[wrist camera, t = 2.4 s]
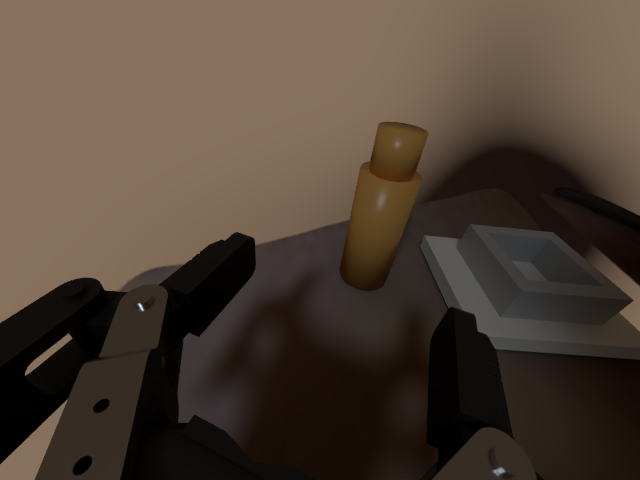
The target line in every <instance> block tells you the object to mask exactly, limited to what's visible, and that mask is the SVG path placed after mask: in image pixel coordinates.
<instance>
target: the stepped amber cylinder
mask: <svg viewBox="0 0 640 480" xmlns="http://www.w3.org/2000/svg"><path fill="white" fill-rule="evenodd" d="M427 136H428V132H427V131H426V130H424V129H422V128H420V127H417V126H413V125H409V124H405V123H398V122H382V123H380V124H379V125H378V129H377V134H376V138H375V143H374V147H373V152H372V156H371V161H370V162H366V163H364V164H362V165H361V167H360V172H359V177H358V182H357V187H356V191H355V196H354V202H353V206H352V211H351V216H350V220H349V225H348V230H347V235H346V240H345V245H344V250H343V255H342V259H341V264H340V275H341V277H342V278H343V280H344V281H345V282H346V283H347V284H349V285H350V286H352V287H354V288H357V289H360V290H366V291H370V290H376V289H378V288H380V287H382V286H383V285H384V283H385V281H386V278H387V275H388V273H389V270H390V267H391V264H392V262H393V259H394V256H395V253H396V251H397V248H398V245H399V242H400V240H401V237H402V234H403V231H404V229H405V226H406V223H407V220H408V218H409V215H410V212H411V209H412V207H413V204H414V201H415V198H416V196H417V193H418V190H419V187H420V184H421V182H422V177H421V175H420V174H419V173H417V172H416V169H417V166H418V163H419V160H420V157H421V154H422V151H423V148H424V145H425V142H426V139H427Z"/></svg>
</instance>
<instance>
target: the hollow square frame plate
mask: <svg viewBox="0 0 640 480" xmlns="http://www.w3.org/2000/svg"><path fill="white" fill-rule="evenodd" d="M420 248H421V250H422V252H423V254H424V256H425V259H426V261H427V263H428V265H429V267H430V269H431V272H432V274H433V276H434V278H435V280H436V282H437V285H438V287H439V289H440V291H441V293H442V295H443V298H444V300H445V302H446V304H447V306H448V308H450V307H455V308H457V309H460V310H463V311H466V312H469V313H472V314H474V315H475V317H476V322H477V329H478V332H481V333H484V334H487V336H488V337H489V339H490V341H491V342H492V344H493V346H494V348H495V349H502V350H516V351H529V352H543V353H556V354H569V355H583V356H596V357H610V358H623V359H637V360H640V332H639V331H638V330H637V329H636V328H635V327H634V326H633V325H632V324H631V323H630V322H629V321H627V320H626V319H625V318H624V317H623V316H622V315H621V314H620V313H619V312H620V311H621V310H622V309H624V308H625V307H626V306H627V305H628V304H630V303H631V302H632V301H633V299H631V298H630V297H629V296H628V295H627V294H626V293H624V292H623V291H622V290H621V289H620V288H618V287H617V286H616V285H615V284H614V283H612V282H611V281H610V280H609V279H607V277H605V276H604V275H603V274H602V273H601V272H599V271H598V270H597V269H596V268H595V267H593V266H592V265H591V264H590V263H589V262H588V261H586V260H585V259H584V258H583V257H582V256H580V255H579V254H578V253H577V252H576V251H574V250H573V249H572V248H571V247H570V246H569V245H567V244H566V243H565V242H563V241H562V240H561V239H560V238H559V237H558V236H557V235H555V234H554V233H553V232H543V231H533V230H523V229H513V228H503V227H493V226H483V225H472V224H469V226H468V228H467V230H466V232H465V234H464V235H463V237H462V239H455V238H445V237H434V236H424V238H423V240H422V243H421V245H420Z"/></svg>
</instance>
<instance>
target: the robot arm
mask: <svg viewBox="0 0 640 480" xmlns="http://www.w3.org/2000/svg"><path fill="white" fill-rule="evenodd" d="M255 266H256V260H255V240H254V238H252V237H250V236H247V235H244V234H241V233H238V232H236V233H234V234H233V235H231V236H230V237H229V238H228V239H227V240H225V241H224V240H220V241H218V242H215V243H213V244H210V245H208V246H207V247H206V248H205V249H203V250H202V251H201V252H200V254H197V255H196V256H195V257H193V258H192V260H190V261H188V262H187V263H186V264H185V265H183V266H182V267H181V268H180V269H178V270H177V271H176V272H174V273H173V274H172V275H171V276H169V277H168V278H167V279H166V280H164V281H163V282H162V283H161V284H159V285H153V284H151V285H144V286H140V287H137V288H135V289H133V290H131V291H129V292H117V291H105V290H104V289H103V287H102V285H101V283H100V282H99V281H98V280H96V279H93V278H80V279H75V280H71V281H69V282H66V283H64V284H62V285H60V286H58V287H57V288H55V289H54V290H52V291H50V292H49V293H47V294H46V295H44V296H43V297H41V298H39V299H38V300H36V301H35V302H33V303H31V304H30V305H28V306H27V307H25V308H24V309H22V310H20V311H19V312H17V313H16V314H14V315H13V316H11V317H9V318H8V319H6V320H5V321H3V322H1V323H0V464H1V463H2V462H3V461H4V460H5V459H6V458H7V457H8V456H9V455H10V454H11V453H12V452H13V451H14V450H15V449H16V448H17V447H18V446H20V445H21V444H22V443H23V442H24V441H25V440H26V439H27V438H28V437H29V436H30V435H31V434H32V433H33V432H34V431H35V430H36V429H37V428H38V427H39V426H40V425H41V424H42V423H43V422H44V421H45V420H46V419H47V418H48V417H49V416H50V415H51V414H52V413H54V412H55V411H56V410H57V409H58V408H59V407H60V406H61V405H62V404H63V403H64V402H65V401H66V400H67V399H68V401H67V404H66V405H65V408H64V410H63V413H62V415H61V417H60V420H59V423H58V425H57V427H56V430H55V432H54V435H53V437H52V439H51V442H50V444H49V447H48V449H47V451H46V454H45V456H44V459H43V461H42V463H41V466H40V468H39V471H38V473H37V475H36V478H35V480H315V479H313V478H311V477H309V476H307V475H305V474H303V473H302V472H300V471H298V470H296V469H294V468H288V467H282V466H276V465H270V464H264V463H258V462H254V461H252V460H251V459H250V458H249V457H248V456H247V455H246V454H245V453H244V452H243V451H242V449H241V448H240V447H239V446H238V445H237V444H236V443H235V442H234V441H233V439H232V438H231V437H230V436H229V435H228V434H227V433H226V432H225V431H224V430H222V429H220V428H218V427H216V426H215V425H213V424H211V423H209V422H207V421H205V420H203V419H202V418H200V417H198V416H196V415H194V416H193V417H192V419H191V420H190V422H189V423H178V418H179V404H178V383H179V374H180V366H181V358H182V349H183V338H184V337H185V336H186V335H187V334H188V333H191V334H193V335H196V336H198V337H199V336H200V335H201V334H202V333H203V332H204V331H205V329H206V328H207V327H208V326H209V325H210V324H211V323H212V321H213V320H214V319H215V318H216V317H217V316H218V315H219V313H220V312H221V311H222V310H223V309H224V308H225V307H226V305H227V304H228V303H229V302H230V301H231V300H232V299H233V297H234V296H235V295H236V294H237V293H238V292H239V291H240V289H241V288H242V287H243V286H244V285H245V284H246V283H247V281H248V280H249V279H250V278H251V276H252V275H253V273H254V270H255ZM68 333H69V334H70V335H71V337H72V338H73V339H72V340H70V341H69V342H68V343H67V344H65V345H64V346H63V347H62V348H60V349H59V350H58V351H57V352H55V353H54V354H53V355H52V356H50V357H49V358H48V359H47V360H45V361H44V362H43V363H42V364H41V365H39V366H38V367H37V368H36V369H35V370H33V371H32V372H31V373H29V374H28V375H26V376H25V371H26V369H27V367H28V366H29V365H30V363H32V362H33V361H34V360H35V359H36V358H37V357H39V356H40V355H41V354H43V353H44V352H45V351H46V350H48V349H49V348H50V347H51V346H53V345H54V344H55V343H56V342H58V341H59V340H60V339H62V338H63V337H64V336H66V335H67V334H68ZM498 366H499V363H498V358H497V353H496V349H495V348H494V346H493V344H492V342H491V341H490V339H489V337H488V336H487V334H484V333H481V332H478V329H477V322H476V317H475V315H474V314H472V313H469V312H466V311H463V310H460V309H457V308H455V307H450V308H449V309H448V310H447V312H446V313H445V315H444V317H443V318H442V320H441V321H440V323H439V325H438V326H437V328H436V329H435V331H434V333H433V335H432V338H431V342H430V355H429V384H428V413H427V441H426V443H427V444H429V445H431V446H433V447H436V448H438V462H437V463H436V464H435V465H434V466H433V467H432V468H431V469H430V470H429V471H428V472H427V473H426V474H425V475H424V476H423V477H422V478H421V479H420V480H544V479H543V478H542V477H541V476H539V475H538V474H537V473H536V472H535V471H534V468H533V466H532V463H531V461H530V460H529V458H528V456H527V455H526V453H525V452H524V450H523V449H522V448H521V447H520V446H519V444H518V443H517V442H516V441H515V440H514V438H513V434H512V430H511V424H510V419H509V414H508V409H507V404H506V399H505V394H504V389H503V383H502V381H501V373H500V368H498Z"/></svg>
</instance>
